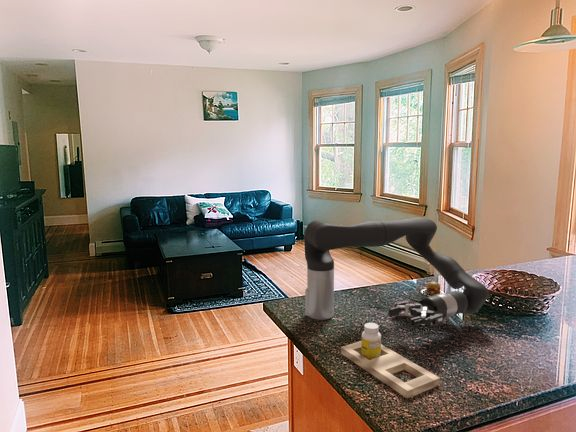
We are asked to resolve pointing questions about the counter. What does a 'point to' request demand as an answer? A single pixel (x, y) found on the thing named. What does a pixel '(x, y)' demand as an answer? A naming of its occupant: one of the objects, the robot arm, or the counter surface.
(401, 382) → the socket rail
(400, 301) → the pink arch block
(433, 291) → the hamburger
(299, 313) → the counter surface
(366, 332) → the supplement bottle
